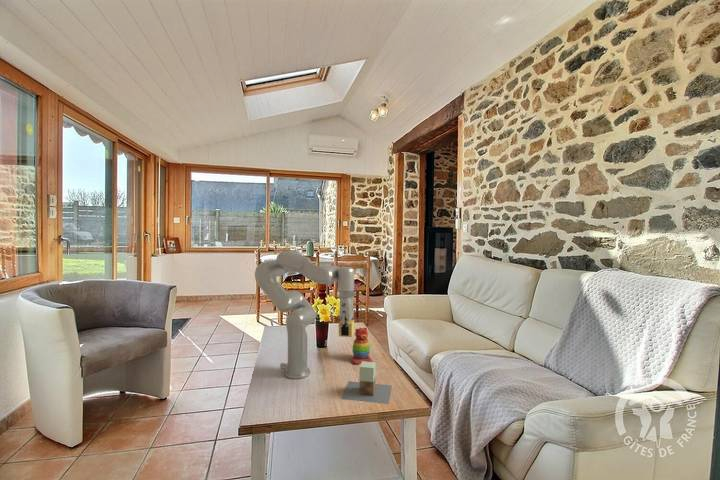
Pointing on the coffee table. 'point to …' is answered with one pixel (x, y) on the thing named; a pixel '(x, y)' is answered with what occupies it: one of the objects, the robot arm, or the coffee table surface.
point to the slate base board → (379, 396)
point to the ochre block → (350, 327)
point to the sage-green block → (367, 371)
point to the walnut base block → (367, 388)
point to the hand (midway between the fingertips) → (346, 332)
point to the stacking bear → (361, 347)
